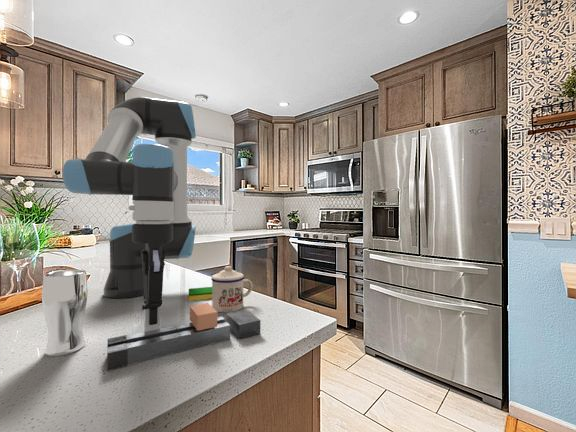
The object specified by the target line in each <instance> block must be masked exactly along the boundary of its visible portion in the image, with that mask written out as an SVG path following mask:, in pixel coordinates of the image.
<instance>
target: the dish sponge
mask: <svg viewBox="0 0 576 432" xmlns="http://www.w3.org/2000/svg"><path fill="white" fill-rule="evenodd" d="M209 298H212V286H209V287H208V286H205V287H191V288H188V301H189V302H190V301H191V302H192V300H193V301H201V300H200V299H204V300H210V299H209Z"/></svg>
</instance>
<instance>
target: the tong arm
mask: <svg viewBox="0 0 576 432" xmlns="http://www.w3.org/2000/svg"><path fill="white" fill-rule="evenodd" d="M225 322H226V318H224V317H223V316H222V315H221V316H217V324H221V323H225ZM193 329H196V328H195V327H194V325H193V324H192V322H191V321H190V322H187V323H182V324H178V325H177V324H176V325H171V326H167V327H162V328H161V327H160V329H157V330H152V331H147V332H144V331H142V332H137V333H133V334H128V335H127V334H125V335H120V336H114V337H109V338H107V347H111V346H115V345H120V344H125V343H127V344H128V343H132V342H137V341H142V340H146V339H151V338H156V337H160V336H165V335H169V334H174V333H179V332H183V331H188V330H193Z"/></svg>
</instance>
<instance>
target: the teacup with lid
mask: <svg viewBox="0 0 576 432" xmlns="http://www.w3.org/2000/svg"><path fill="white" fill-rule="evenodd" d="M211 283H212V284H211V285H212V286H211V287H212V299H211V300H212V301H211V302H212V303H211V306H212V307H213V308H214V309H215V310H216V311H217V313H225V314H226V313H230V312H235V311H240V310H242V309H243V308H244V298H245V297H248V296H249V295H250V294H251V292H252V290H253V282H252V281H251V280H250V279H247V278H246V279H245V275H244V274H243V273H242V272H238V271H236V270H234V269H232V266H231V265H228V266H227V265H226V266H225V267H224V269H223V270H220V271H219V272H217V273H215V274H213V275H212V277H211ZM244 283H248V289H247V292H245V293H244Z"/></svg>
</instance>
